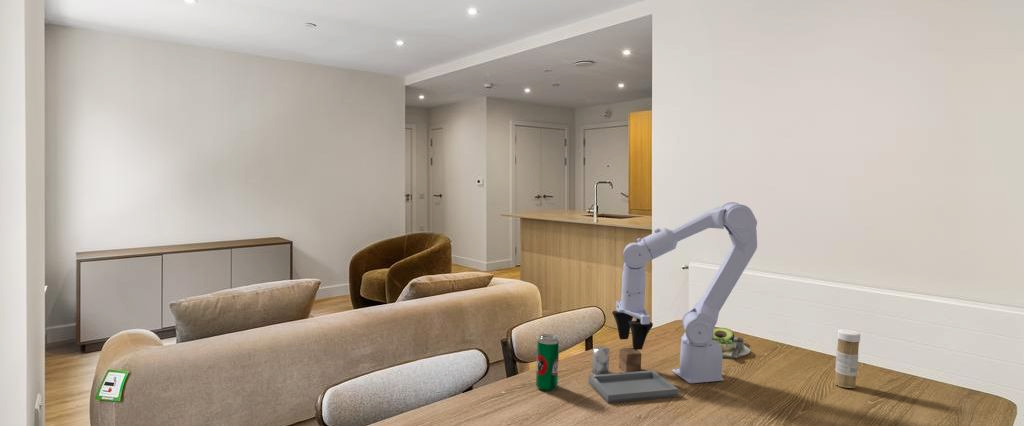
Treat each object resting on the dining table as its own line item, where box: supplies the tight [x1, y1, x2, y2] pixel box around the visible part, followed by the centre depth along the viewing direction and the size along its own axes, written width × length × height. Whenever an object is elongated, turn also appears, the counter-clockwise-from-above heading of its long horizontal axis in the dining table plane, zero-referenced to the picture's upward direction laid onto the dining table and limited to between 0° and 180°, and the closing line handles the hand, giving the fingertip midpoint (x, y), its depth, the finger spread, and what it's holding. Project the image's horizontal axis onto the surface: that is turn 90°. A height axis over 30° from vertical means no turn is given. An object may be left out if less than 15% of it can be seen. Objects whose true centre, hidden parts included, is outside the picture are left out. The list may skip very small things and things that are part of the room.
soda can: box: [535, 333, 560, 392], centre depth 121 cm, size 5×5×12 cm
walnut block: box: [618, 347, 642, 373], centre depth 133 cm, size 4×4×5 cm
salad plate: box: [712, 327, 751, 359], centre depth 149 cm, size 19×18×5 cm
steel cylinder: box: [591, 345, 610, 375], centre depth 131 cm, size 4×4×6 cm
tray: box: [587, 369, 679, 404], centre depth 121 cm, size 17×11×2 cm, turn 104°
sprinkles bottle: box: [833, 328, 861, 389], centre depth 125 cm, size 5×5×14 cm
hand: (630, 343), depth 132 cm, fingers open, 7 cm apart
